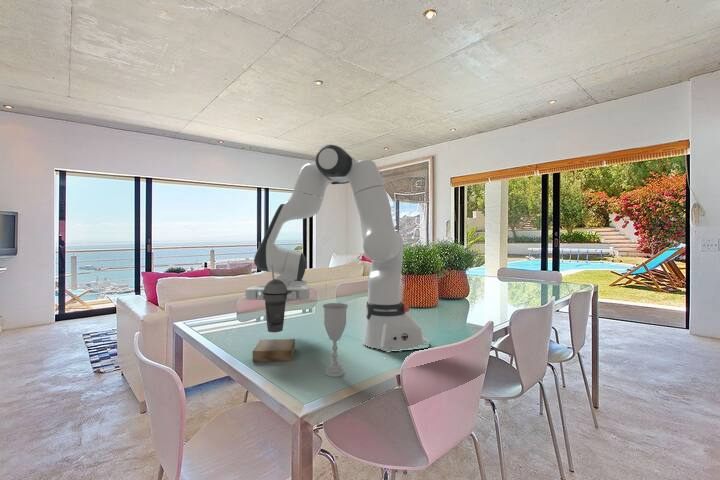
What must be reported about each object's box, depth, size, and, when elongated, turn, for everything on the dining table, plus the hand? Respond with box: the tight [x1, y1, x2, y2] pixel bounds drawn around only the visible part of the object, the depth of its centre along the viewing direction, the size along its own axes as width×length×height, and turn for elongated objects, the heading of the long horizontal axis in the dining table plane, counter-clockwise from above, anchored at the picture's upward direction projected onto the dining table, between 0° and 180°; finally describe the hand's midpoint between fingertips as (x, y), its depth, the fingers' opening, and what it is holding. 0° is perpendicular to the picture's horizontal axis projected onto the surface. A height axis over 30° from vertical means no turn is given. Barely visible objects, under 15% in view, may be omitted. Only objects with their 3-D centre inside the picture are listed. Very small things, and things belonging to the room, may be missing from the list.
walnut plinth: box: [252, 338, 296, 362], centre depth 105 cm, size 11×11×3 cm
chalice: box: [322, 302, 349, 378], centre depth 92 cm, size 7×7×18 cm
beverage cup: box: [263, 265, 288, 333], centre depth 105 cm, size 7×7×20 cm
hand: (275, 297), depth 104 cm, fingers closed on beverage cup, 7 cm apart
